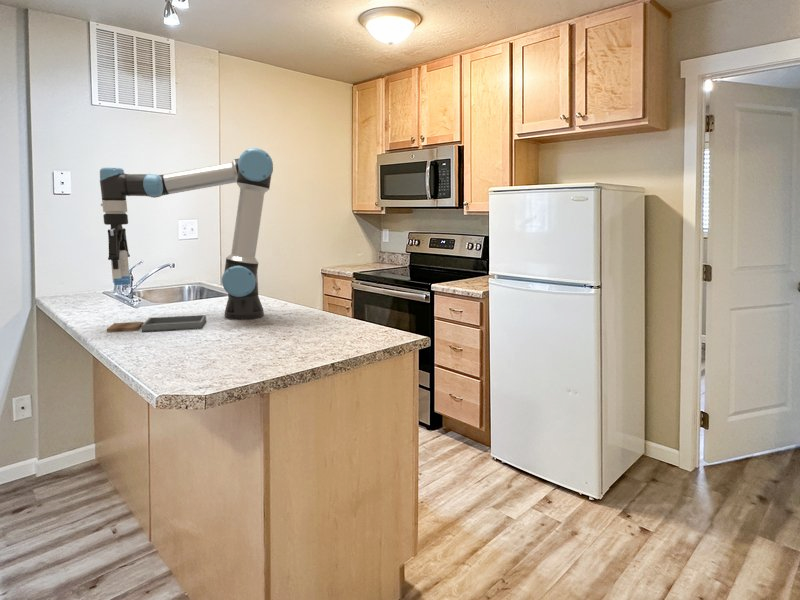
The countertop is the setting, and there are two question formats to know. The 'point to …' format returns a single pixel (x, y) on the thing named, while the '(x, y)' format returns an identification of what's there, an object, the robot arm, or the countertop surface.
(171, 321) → the tray
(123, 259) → the ink box
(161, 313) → the countertop surface
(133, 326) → the board
